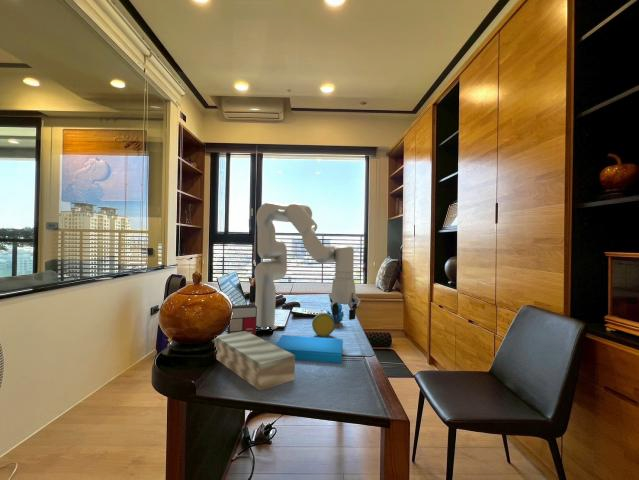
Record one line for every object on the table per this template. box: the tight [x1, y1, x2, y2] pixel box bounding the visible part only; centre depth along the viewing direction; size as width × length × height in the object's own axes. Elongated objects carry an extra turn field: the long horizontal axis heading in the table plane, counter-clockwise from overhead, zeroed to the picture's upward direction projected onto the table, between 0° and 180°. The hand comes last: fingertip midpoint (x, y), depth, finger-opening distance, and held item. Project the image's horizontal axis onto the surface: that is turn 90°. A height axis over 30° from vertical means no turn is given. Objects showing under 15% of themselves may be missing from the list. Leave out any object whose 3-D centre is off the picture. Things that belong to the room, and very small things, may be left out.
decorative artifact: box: [311, 312, 336, 337], centre depth 145 cm, size 10×7×10 cm
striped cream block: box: [214, 331, 296, 391], centre depth 104 cm, size 31×12×8 cm, turn 41°
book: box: [274, 334, 344, 364], centre depth 121 cm, size 17×4×25 cm
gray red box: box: [226, 304, 257, 336], centre depth 128 cm, size 11×4×15 cm, turn 114°
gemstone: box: [326, 303, 345, 328], centre depth 162 cm, size 7×9×12 cm
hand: (343, 317), depth 132 cm, fingers open, 9 cm apart
